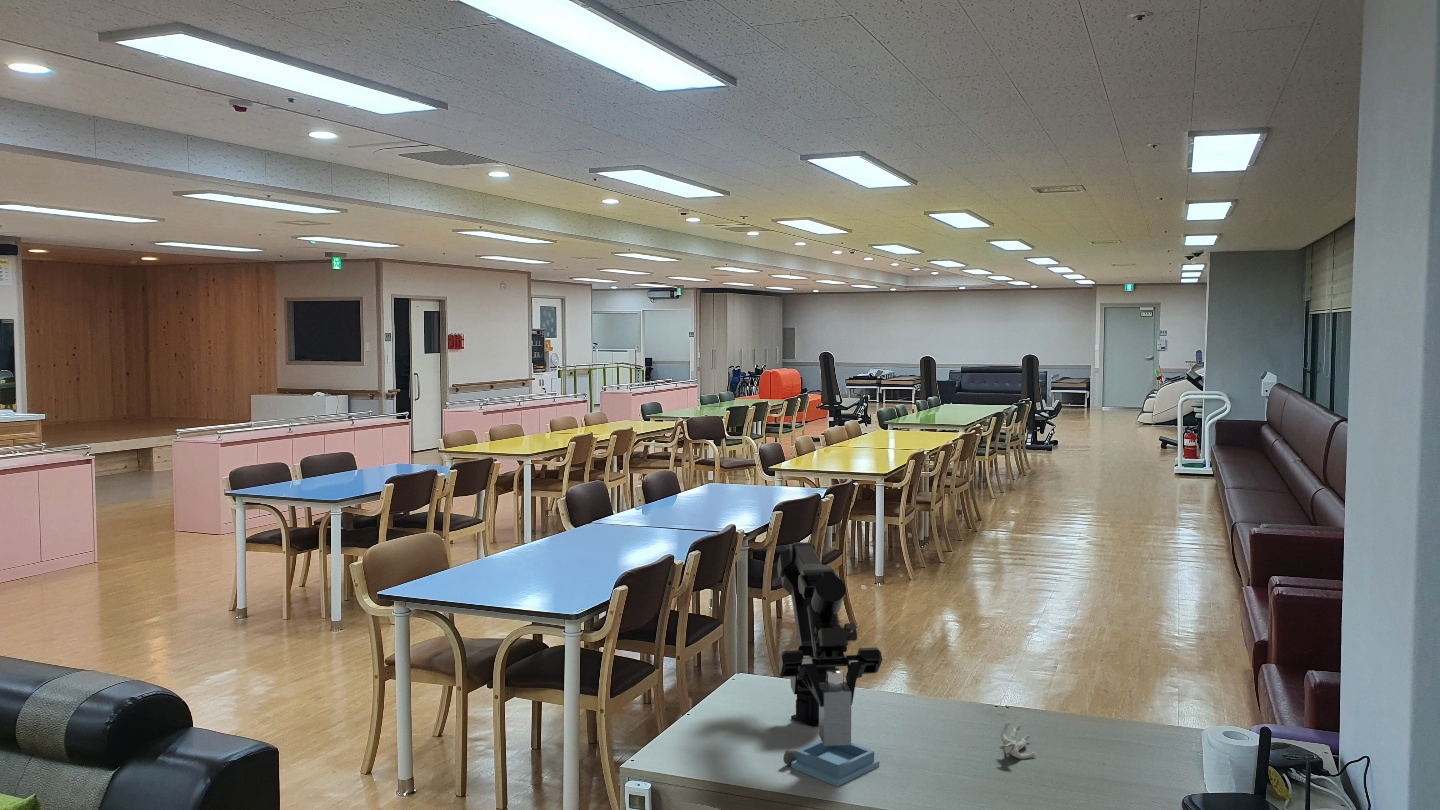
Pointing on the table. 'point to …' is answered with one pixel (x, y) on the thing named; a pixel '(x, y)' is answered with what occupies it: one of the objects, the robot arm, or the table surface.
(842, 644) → the robot arm
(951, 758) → the table surface
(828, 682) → the square bottle with cap
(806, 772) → the chassis
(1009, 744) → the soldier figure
